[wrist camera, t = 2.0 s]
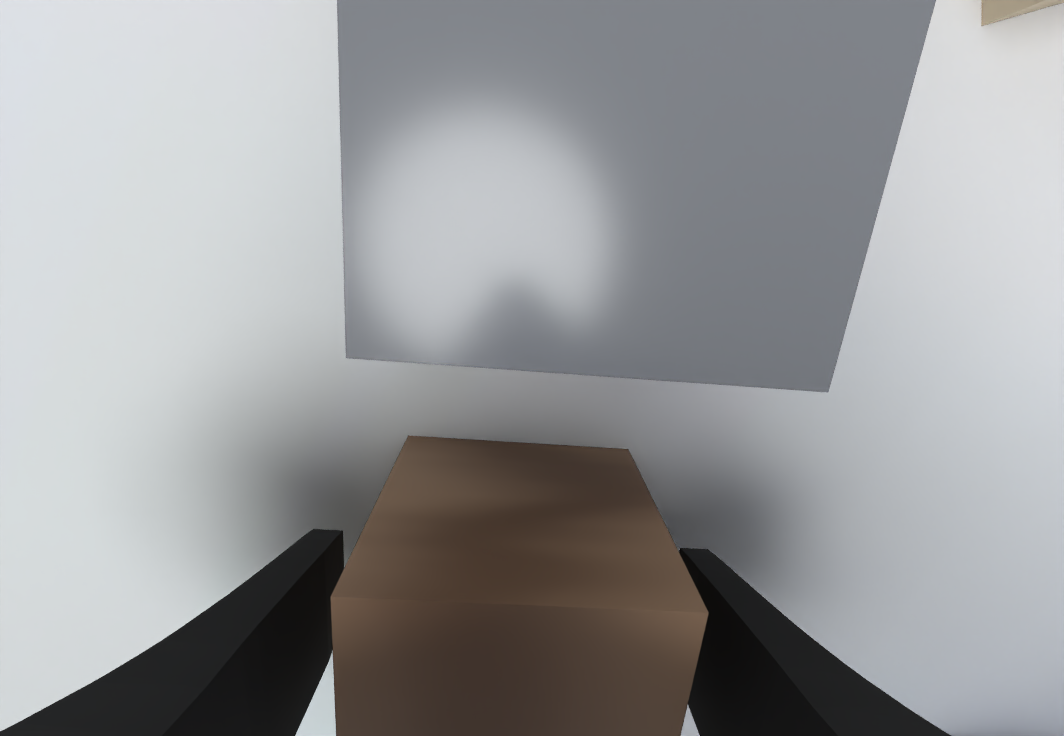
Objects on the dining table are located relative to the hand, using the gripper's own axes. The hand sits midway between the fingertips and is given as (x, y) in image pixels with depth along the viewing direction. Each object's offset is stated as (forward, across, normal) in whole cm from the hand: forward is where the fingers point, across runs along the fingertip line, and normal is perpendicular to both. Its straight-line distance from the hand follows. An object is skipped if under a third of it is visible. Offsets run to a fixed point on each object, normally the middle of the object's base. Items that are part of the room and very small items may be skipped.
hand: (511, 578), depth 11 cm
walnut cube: (+2, 0, 0) cm, 2 cm away
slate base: (+1, -1, -9) cm, 9 cm away
